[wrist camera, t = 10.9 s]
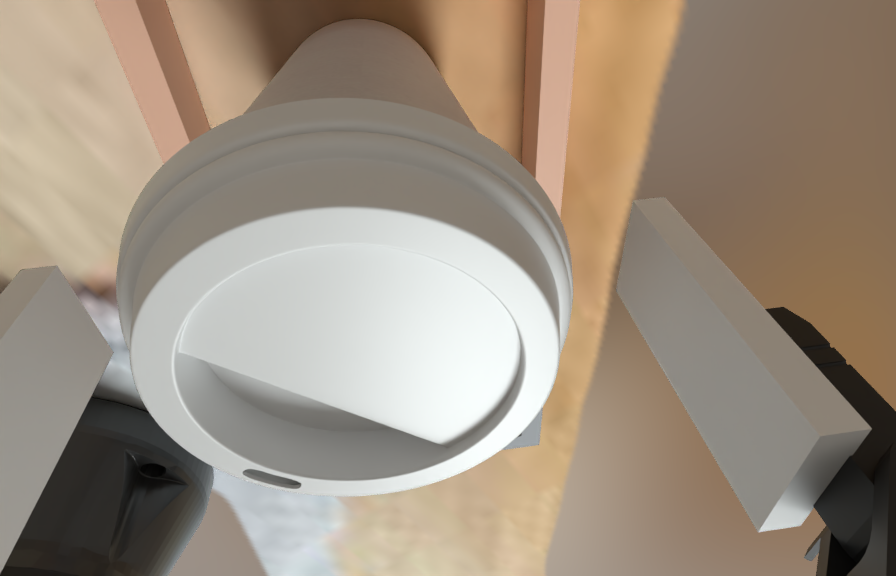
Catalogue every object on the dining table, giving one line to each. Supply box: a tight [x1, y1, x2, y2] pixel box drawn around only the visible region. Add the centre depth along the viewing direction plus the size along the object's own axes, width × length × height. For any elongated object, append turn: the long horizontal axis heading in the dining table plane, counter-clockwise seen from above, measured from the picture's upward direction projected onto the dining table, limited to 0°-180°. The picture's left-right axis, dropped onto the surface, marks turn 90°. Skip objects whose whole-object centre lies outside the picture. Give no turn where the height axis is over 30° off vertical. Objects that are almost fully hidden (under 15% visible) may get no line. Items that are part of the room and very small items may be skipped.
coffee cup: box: [116, 19, 573, 497], centre depth 16 cm, size 10×10×15 cm
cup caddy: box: [94, 0, 580, 450], centre depth 25 cm, size 30×15×2 cm, turn 3°
